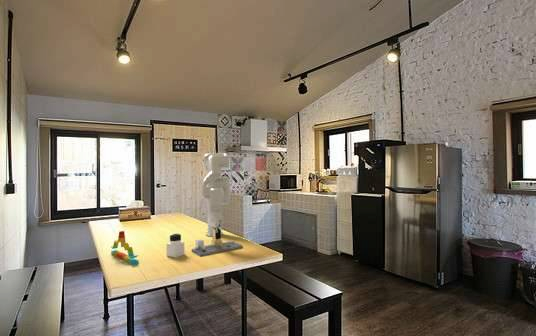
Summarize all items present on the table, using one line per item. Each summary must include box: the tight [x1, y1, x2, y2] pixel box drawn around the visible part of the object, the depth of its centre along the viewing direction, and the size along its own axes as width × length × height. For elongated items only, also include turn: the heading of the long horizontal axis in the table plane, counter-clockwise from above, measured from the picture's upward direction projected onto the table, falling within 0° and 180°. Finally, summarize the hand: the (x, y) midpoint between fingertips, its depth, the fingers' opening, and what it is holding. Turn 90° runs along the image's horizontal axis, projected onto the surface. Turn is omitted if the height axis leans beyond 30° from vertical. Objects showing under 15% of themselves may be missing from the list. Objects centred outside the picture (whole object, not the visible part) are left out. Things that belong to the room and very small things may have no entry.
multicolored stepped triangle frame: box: [110, 230, 140, 266], centre depth 167 cm, size 30×3×15 cm, turn 47°
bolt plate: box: [191, 239, 244, 257], centre depth 182 cm, size 12×28×6 cm, turn 127°
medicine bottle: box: [166, 233, 186, 258], centre depth 172 cm, size 7×7×12 cm
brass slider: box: [210, 228, 223, 247], centre depth 184 cm, size 9×5×10 cm, turn 37°
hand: (216, 237), depth 186 cm, fingers closed on brass slider, 3 cm apart
